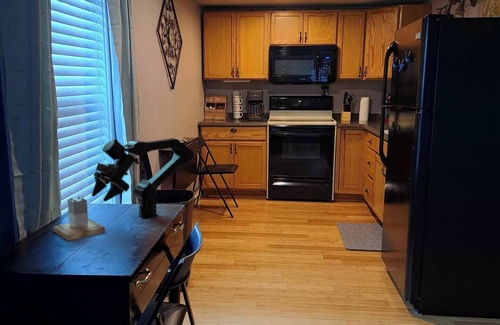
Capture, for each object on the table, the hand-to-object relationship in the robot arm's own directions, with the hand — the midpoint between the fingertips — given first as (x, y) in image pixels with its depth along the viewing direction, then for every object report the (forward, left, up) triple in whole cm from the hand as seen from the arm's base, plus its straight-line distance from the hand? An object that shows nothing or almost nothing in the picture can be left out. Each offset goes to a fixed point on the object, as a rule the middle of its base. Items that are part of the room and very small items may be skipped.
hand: (98, 198), depth 163 cm
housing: (+8, +1, -9) cm, 13 cm away
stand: (+8, +1, -12) cm, 14 cm away
